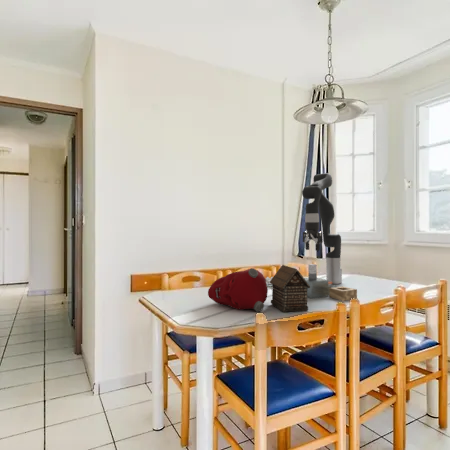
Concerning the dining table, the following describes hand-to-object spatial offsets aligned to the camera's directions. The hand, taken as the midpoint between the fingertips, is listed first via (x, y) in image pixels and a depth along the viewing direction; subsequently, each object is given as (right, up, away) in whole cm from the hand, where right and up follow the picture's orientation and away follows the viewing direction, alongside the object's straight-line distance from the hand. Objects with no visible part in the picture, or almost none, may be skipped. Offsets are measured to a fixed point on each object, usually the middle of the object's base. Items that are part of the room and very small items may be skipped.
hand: (312, 250), depth 192 cm
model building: (-18, -26, -26) cm, 41 cm away
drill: (0, -22, 0) cm, 22 cm away
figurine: (-9, -26, +23) cm, 36 cm away
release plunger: (+10, -24, +5) cm, 27 cm away
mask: (-41, -27, -23) cm, 54 cm away
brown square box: (+15, -25, -7) cm, 30 cm away
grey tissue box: (+4, -25, +2) cm, 26 cm away
